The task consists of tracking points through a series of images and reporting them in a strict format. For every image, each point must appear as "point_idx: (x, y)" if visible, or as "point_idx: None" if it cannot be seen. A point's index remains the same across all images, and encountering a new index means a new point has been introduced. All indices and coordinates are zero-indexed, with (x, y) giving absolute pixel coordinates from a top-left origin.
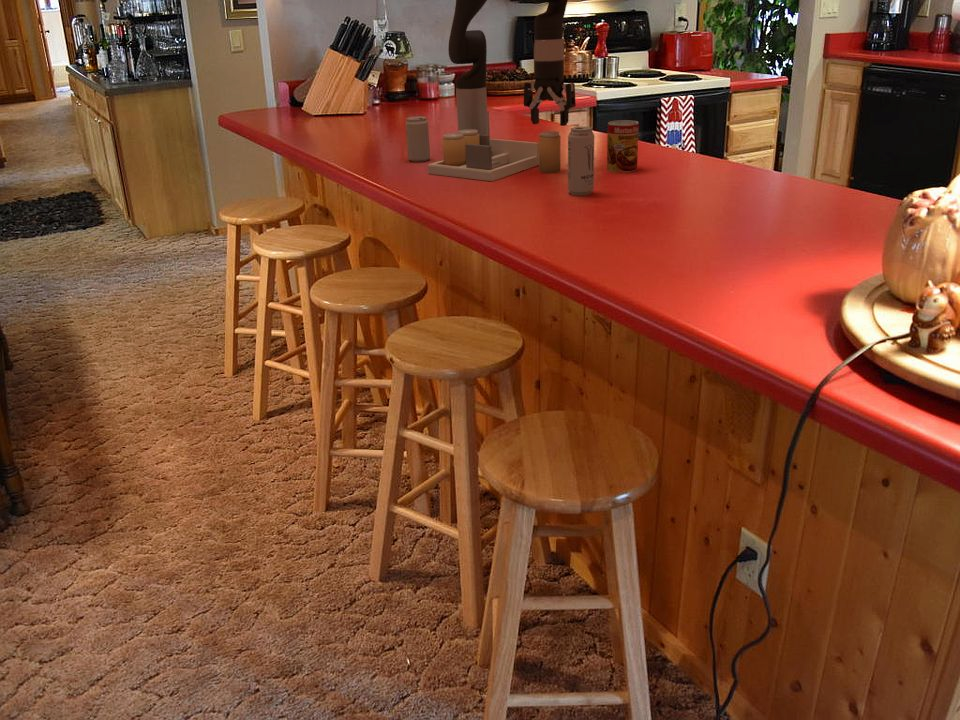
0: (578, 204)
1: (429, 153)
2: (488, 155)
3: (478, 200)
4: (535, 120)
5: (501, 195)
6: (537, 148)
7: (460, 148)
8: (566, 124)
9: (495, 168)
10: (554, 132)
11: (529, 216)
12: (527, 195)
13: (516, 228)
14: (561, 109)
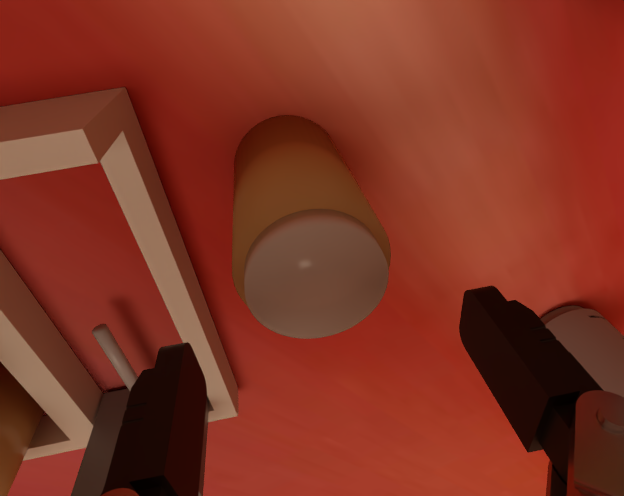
0: None
1: None
2: (203, 460)
3: (360, 470)
4: (199, 402)
5: (377, 433)
6: (105, 142)
7: (3, 491)
8: (490, 289)
9: (208, 390)
10: (352, 271)
11: (517, 462)
12: (435, 404)
13: (525, 492)
14: (557, 468)
